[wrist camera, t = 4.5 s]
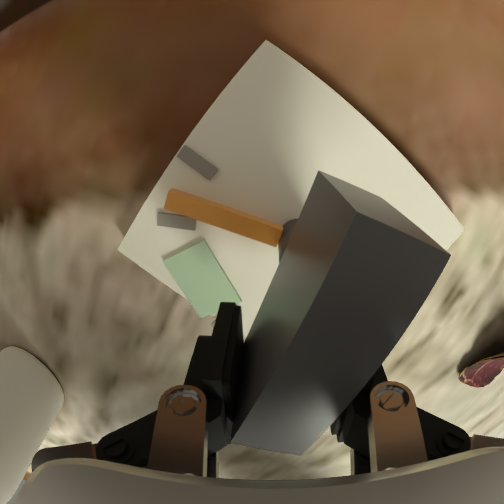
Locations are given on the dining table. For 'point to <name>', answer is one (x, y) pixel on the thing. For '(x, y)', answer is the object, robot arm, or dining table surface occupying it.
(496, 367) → the cured meat
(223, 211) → the dark grey blocky piece
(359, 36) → the dining table surface
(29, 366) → the milk bottle
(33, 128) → the dining table surface
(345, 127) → the board
